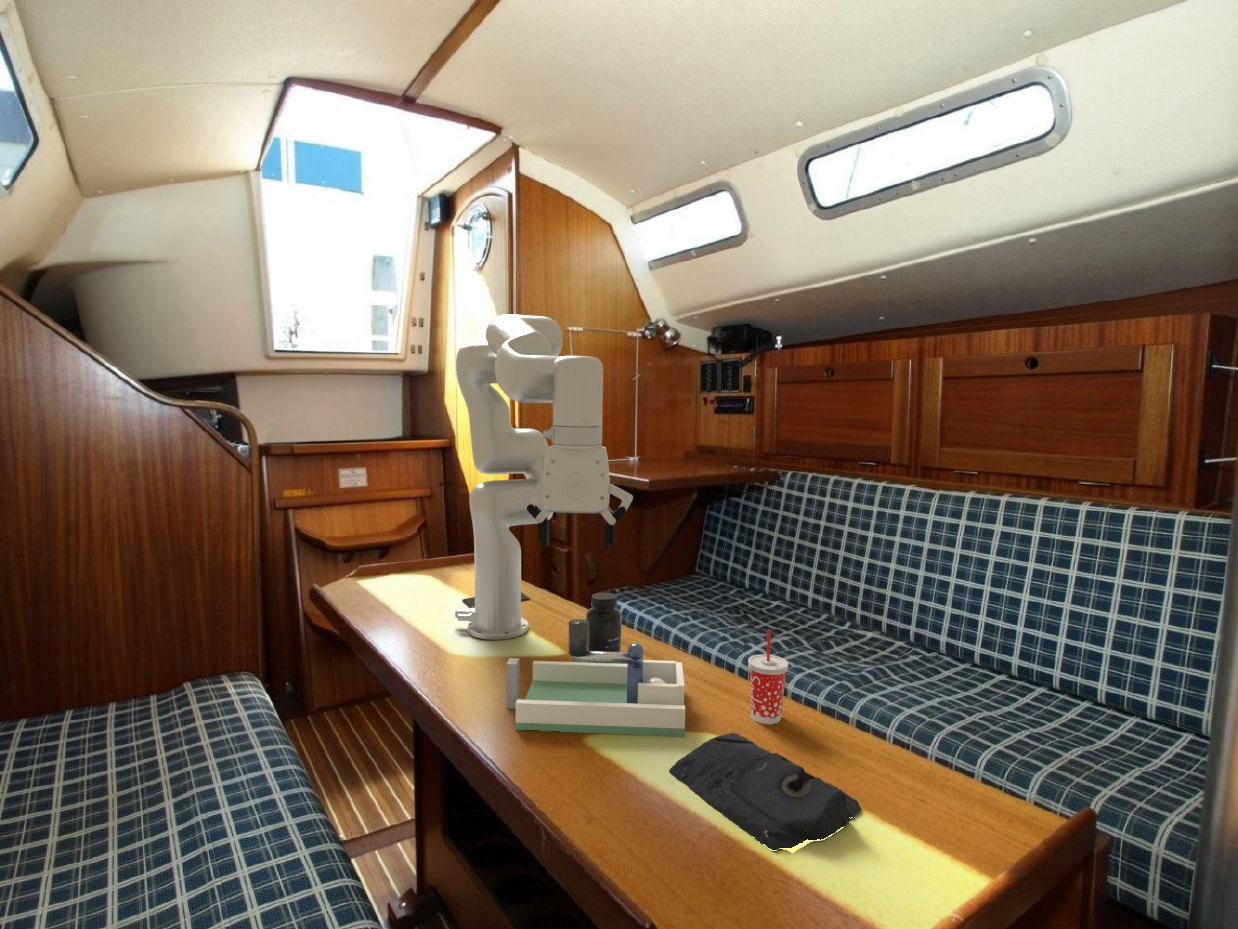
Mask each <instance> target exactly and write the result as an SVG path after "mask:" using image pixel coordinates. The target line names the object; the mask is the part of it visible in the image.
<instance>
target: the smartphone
mask: <svg viewBox="0 0 1238 929" xmlns="http://www.w3.org/2000/svg"><path fill="white" fill-rule="evenodd" d="M530 600H531V598H530V597H529V596H528V595H526V594H524V593H523V592H521V603H522V602H528V601H530ZM462 603H463V604H464V605H466V606H467V607H468V608H469V609H471V608H475V596H474V597H473V596H472V597H467V598H463V599H462Z"/></svg>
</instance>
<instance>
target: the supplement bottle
mask: <svg viewBox="0 0 1238 929" xmlns="http://www.w3.org/2000/svg"><path fill="white" fill-rule="evenodd" d="M590 605H591V608H589V609H588V610H587V611H586V614H585V620H587V621H589V651H599V652H622V626H623V625H622V623H623V622H622V620H623V616H622V613H621V611H620V610H619V609H618V608H617V607H618V595H616V594H615V593H611V592H610V593H609V592H596V593H593V594H592V595H591V602H590ZM596 663H611V662H596Z"/></svg>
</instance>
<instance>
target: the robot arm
mask: <svg viewBox="0 0 1238 929" xmlns="http://www.w3.org/2000/svg"><path fill="white" fill-rule="evenodd" d="M486 327H487V328H486V329H485V339H486V341H474V342H469V343H467V344H464V345H463V346H461V347H460V348H459V349H458V351H457V354H456V357H455V358H456V360H455V361H456V362H455V371H456V378H457V383H458V387H459V389H460V392H461V395H462V397H463V400H464V402H465V405H466V407H467V408H466V409H467V412H468V421H469V432H470V443H471V454H472V459H473V464H474V467H475V469H476V470H477V472H479V473H481V474H484V475H511V474H512V475H513V474H516V475H517V474H523V475H524V476H525V478H521V479H520V478H519V479H497V480H496V479H494V480H488V481H483V482H481V483H477V485H475V486H474V487H473V488H472V489H471V491H470V494H469V500H468V502H469V510H470V514H471V515H470V517H471V521H472V528H473V530H472V531H473V541H474V542H473V544H474V545H473V546H474V550H473V551H474V597H475V608H469V609H466V608H456V609H455V613H454V617H455V619H457V621H458V622H465V621H466V622H469V623H468V624H467V633H468V634H469V635H470V636H472V637H474V638H476V639H480V640H489V641H490V640H491V641H493V640H495V641H497V640H508V639H512V638H516V637H520V636H522V635H523V634H525V633H526V632H528V630H529V622H528V620H527V619H526V618H523V617H522V602H521V593H522V550H521V544H520V542H519V540H518V539H517V538H516V537H515V535H514V534H513V533H512V532H511V531H510V527H512V526H513V527H515V526H523V525H534V524H537V542H538V543H541V549H544V550H545V549H547V548H548V546H550V520H551V518H552V517H553V516H554V515H553V514H554V513H558V514H559V513H560V514H561V513H564V514H600V515H601V516H602V517H603V519H604V520H605V524H604V529H603V530H604V533H603V541H604V542H603V544H604V545H603V549H604V550H605V551H609V550H610V547H611V545H615V524H616V523H617V522H618V521H619V520H620V519H621V518H622V517H623V516H624V515H625V514H626V512H627V510H628V509H629V507H630V505H631V503H632V502H633V500H634V496H633V495H632V494H631V493H629V492H628V491H626V490H624V489H621V488H619V487H618V486H615V484H612V483H610V482H611V480H610V467H609V466H610V465H609V464H610V463H609V457H608V450H607V447H606V446H603V399H604V398H603V395H604V391H603V390H604V385H603V383H604V366H603V363H602V361H601V360H600V359H599V358H597V357H595V356H590V355H589V356H587V355H564V356H560V354H561V352H562V349H563V343H564V342H563V341H564V339H563V331H562V329H561V327H560V325H559V323H558V322H556V320H554V319H552V318H551V317H548V316H541V315H529V314H528V315H526V314H524V315H523V314H513V313H512V314H510V313H509V314H502V315H498V316H496V317H495V318H494V319H492V320H491V321H490V322H489V324H487V326H486ZM491 384H498V387H499V389H500V390H501V391H502V392H503V393H504V394H505V395H506V396H507V397H508V398H509V399H510V400H512V401H514V402H517V403H523V404H552V426H551V428H548V429H543V432H541V431H539V430H538V429H534V428H514V427H513V426H512V422H511V412H510V407H509V404H508V402H507V401H506V400H505V398H504V397H503V395H501V393H500V392H499V391H498V390H497V389H496V388H495V387H493V386H492V385H491ZM547 439H548V440H550V441H551V443H552V445H548V441H547ZM611 495H613V496H614V497H615V498H617V499H620V501H621V503H620V505H619V506H618V507H617V508H616V509H615V510H612V509H611V507H610V506H609V505H610V499H611V498H610V497H611Z"/></svg>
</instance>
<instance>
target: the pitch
mask: <svg viewBox="0 0 1238 929" xmlns="http://www.w3.org/2000/svg"><path fill="white" fill-rule="evenodd" d="M627 666H628V663H614V662H612V663H595V662H583V661H554V660H553V661H549V660H533V662H532V682H531V683H530V686H529V689H528V691H527V694H526V696H525V698H524V699H520V658H518V657H517V658H513V657H512V658H511V657H510V658H508V661H507V662H506V667H505V668H506V672H505V673H506V682H505V683H506V689H505V690H506V693H505V694H506V709H508V710H509V709H510V710H511V709H512V710H514V709H515V731H523V730H540V731H539V732H551V731H560V732H559V733H577V734H578V733H582V734H608V735H609V734H610V735H611V734H612V735H635V736H637V735H638V736H662V737H666V736H667V737H685V736H686V734H685V732H686V705H685V678H684V670H683V662H681V661H680V662H678V661H676V660H658V659H657V660H656V659H655V660H654V659H643V683H638V704H632V703H627ZM651 678H660V679H662V680H663V681H664V682H665V683H666V684H660V683H646V682H647V681H648V680H649V679H651ZM543 730H544V731H543Z"/></svg>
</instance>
